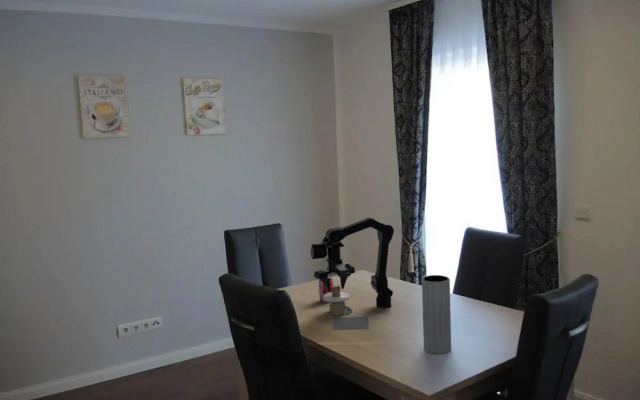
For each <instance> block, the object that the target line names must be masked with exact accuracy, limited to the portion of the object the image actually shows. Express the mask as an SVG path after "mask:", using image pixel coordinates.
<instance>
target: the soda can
mask: <svg viewBox="0 0 640 400" xmlns="http://www.w3.org/2000/svg"><path fill="white" fill-rule="evenodd" d="M328 278H330V281H329V286H330V292H328V291H327V289H326V287H325V285H324V283H323V282H322V280H320V279H318V291H319V292H318V293H319V301H321V302H322V303H329V301H325V300H324V299H323V295H324V294H327V293H331V292H332V291H331V287H332V286H334V282H333V281H334V280H333V278H332V276H331V275H328Z"/></svg>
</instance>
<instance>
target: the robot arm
mask: <svg viewBox="0 0 640 400" xmlns="http://www.w3.org/2000/svg"><path fill="white" fill-rule="evenodd" d="M369 228H372V229H374V230H375V231H376V234H377V235H376V236H377V240H378V249H377V250H378V252H377V259H376V260H377V261H376V269H375V273H374V275H371V276H370V278H371V279H370V280H371V281H370V282H369V283H370V285H371V288H372V289H373V290H374V291H375V293H377V295H376V298H375V303H376V308H381V309H388V308H391V307H392V297H393V293H394V291H393V290H391V289H390V287H389V281H388V277H387V267H388V266H387V265H388V258H389V249H390V247H389V246H390V243H391V242H392V239H393V236H394V232H395V231H394V230H395V229H394V227H393V226H392V225H391V224H388V223H385V222H380V221H378V220H375V218H373V217H370V216H369V217H366V218H364V219H362V220H360V221H357V222H356V221H355V222H353V223H350V224H348V225H345V226H341V227H339V226H338V227H332V228H329V229H327V230H326V231H325V235H324V237H323V239H322V240H321V242H320V243H312V244H311V248H310V250H309V251H310V252H309V253H310V257H311V260H319V259H325V258H326V257H327V258H326V259H325V261H326V262H327V266H328V267H326V270H322V269H320V270H315V271H314V274H313V277H314V278H315V279H317V280H322V282H323V283H324V285H325V287H326V289H327V291H328V292H330V286H329V281H330V278H328V276H331V275H332V276H333V275H337V276H338V277H339V280H340V289H341V290H344V289H345V286H346V282H347V279H348V278H349V277H350V276H351V275H352V274H355V273H356V268H355V267H354V266H352V264H351V263H350V262H347V263H344V262H343V259H342V258H341V248H342V247H343V248H344V247H345V244H343V243H342V240H344V239H345V238H346V237H348V236H350V235H353V234H356V233H359V232H361V231H363V230H366V229H369ZM392 308H393V307H392Z"/></svg>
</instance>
